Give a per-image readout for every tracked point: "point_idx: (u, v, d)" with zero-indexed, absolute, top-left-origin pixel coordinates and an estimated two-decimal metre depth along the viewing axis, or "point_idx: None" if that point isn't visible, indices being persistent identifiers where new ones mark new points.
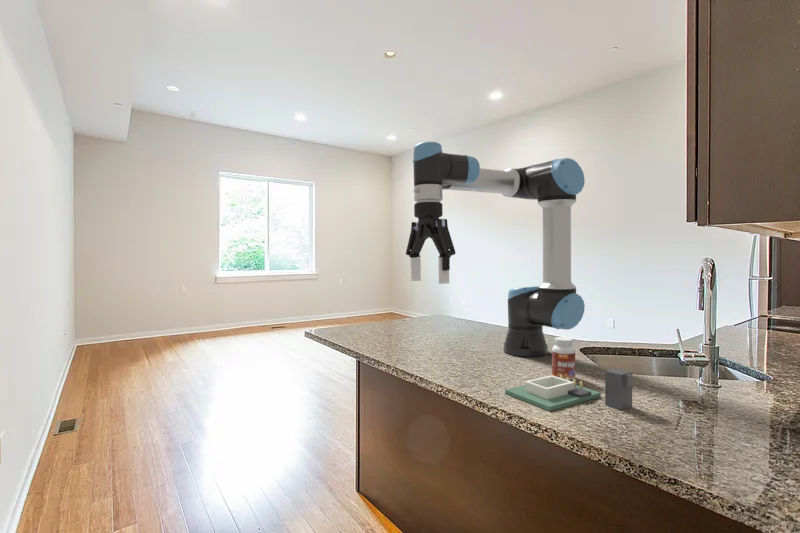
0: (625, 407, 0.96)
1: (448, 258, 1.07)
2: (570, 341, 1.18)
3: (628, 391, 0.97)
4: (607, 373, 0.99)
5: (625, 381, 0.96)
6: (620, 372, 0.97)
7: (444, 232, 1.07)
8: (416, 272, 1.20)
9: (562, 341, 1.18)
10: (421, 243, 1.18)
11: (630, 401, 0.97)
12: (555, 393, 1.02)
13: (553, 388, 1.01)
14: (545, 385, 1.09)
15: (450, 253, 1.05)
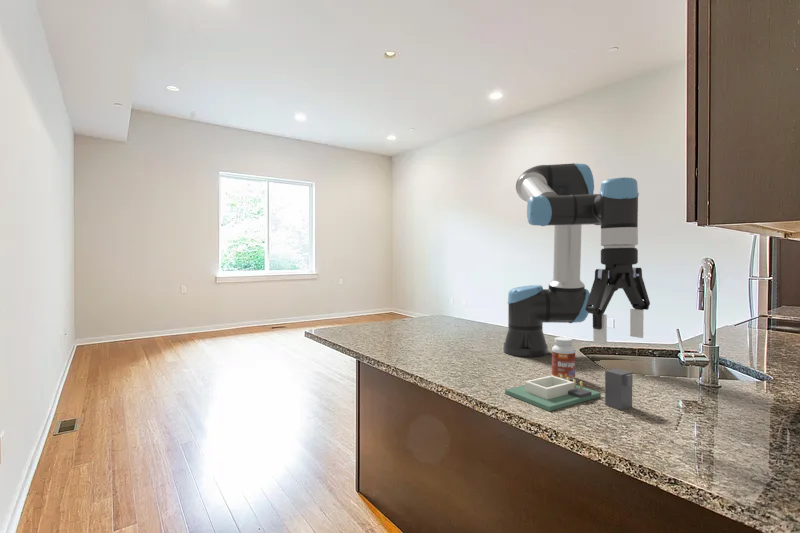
0: (625, 407, 0.96)
1: (596, 315, 0.93)
2: (570, 341, 1.18)
3: (628, 391, 0.97)
4: (607, 373, 0.99)
5: (625, 381, 0.96)
6: (620, 372, 0.97)
7: (595, 285, 0.94)
8: (635, 327, 1.01)
9: (562, 341, 1.18)
10: (631, 293, 0.99)
11: (630, 401, 0.97)
12: (555, 393, 1.02)
13: (553, 388, 1.01)
14: (545, 385, 1.09)
15: (589, 310, 0.93)
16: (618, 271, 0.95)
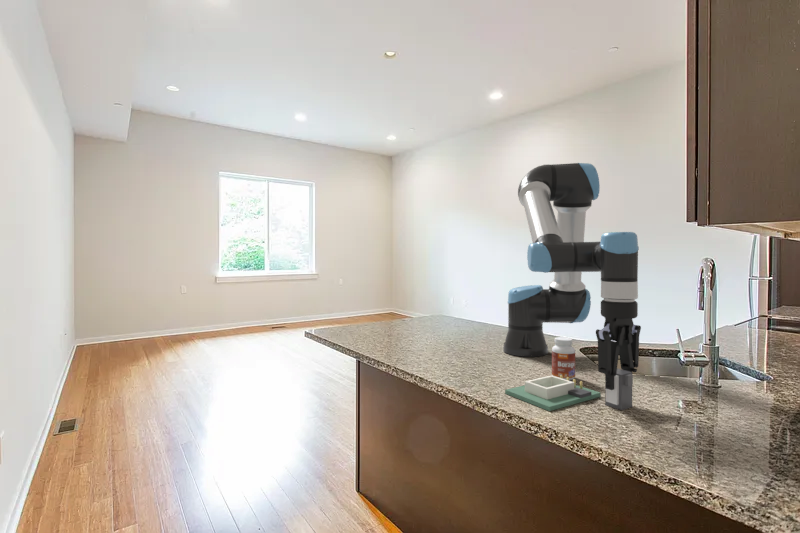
0: (625, 407, 0.96)
1: (609, 376, 0.96)
2: (570, 341, 1.18)
3: (628, 391, 0.97)
4: None
5: (625, 381, 0.96)
6: (620, 372, 0.97)
7: (600, 347, 0.95)
8: None
9: (562, 341, 1.18)
10: (624, 349, 0.99)
11: (630, 401, 0.97)
12: (555, 393, 1.02)
13: (553, 388, 1.01)
14: (545, 385, 1.09)
15: (602, 371, 0.96)
16: (617, 322, 0.96)
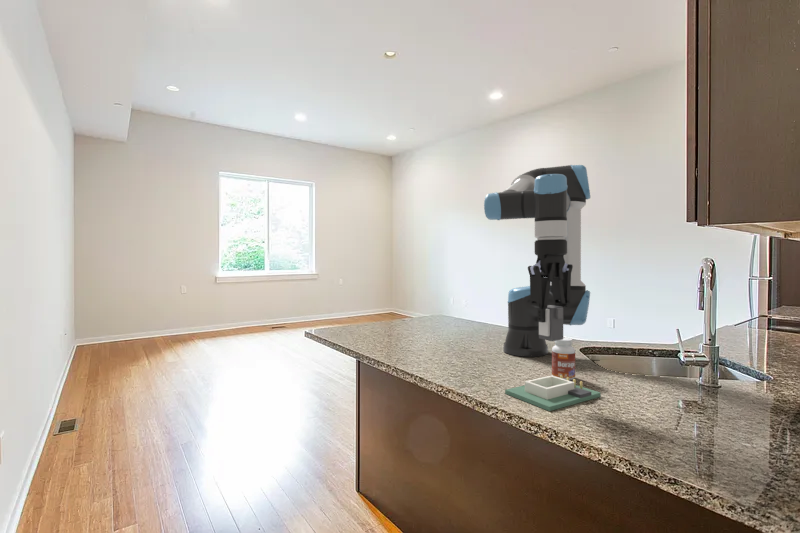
0: (555, 338, 1.03)
1: (540, 310, 1.03)
2: (570, 341, 1.18)
3: (559, 324, 1.04)
4: None
5: (556, 314, 1.03)
6: (552, 306, 1.04)
7: (532, 281, 1.02)
8: None
9: (562, 341, 1.18)
10: (556, 286, 1.05)
11: (561, 333, 1.04)
12: (555, 393, 1.02)
13: (553, 388, 1.01)
14: (545, 385, 1.09)
15: (534, 305, 1.02)
16: (548, 259, 1.02)
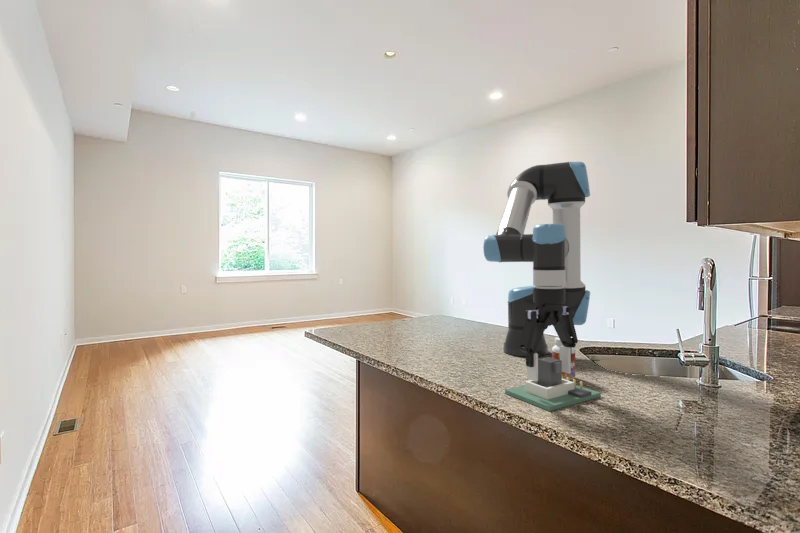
0: None
1: (528, 354, 1.02)
2: None
3: (557, 378, 1.04)
4: (539, 362, 1.06)
5: (554, 368, 1.03)
6: (550, 360, 1.05)
7: (526, 325, 1.02)
8: (564, 363, 1.08)
9: None
10: (560, 331, 1.07)
11: None
12: (555, 393, 1.02)
13: (553, 388, 1.01)
14: None
15: (521, 349, 1.01)
16: (547, 309, 1.03)
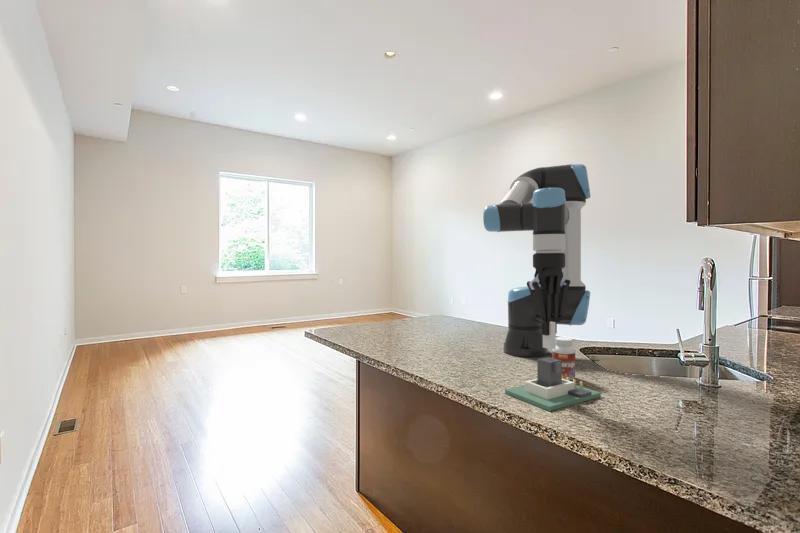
0: None
1: (544, 323, 1.04)
2: (570, 341, 1.18)
3: (557, 378, 1.04)
4: (539, 362, 1.06)
5: (554, 368, 1.03)
6: (550, 360, 1.05)
7: (533, 296, 1.03)
8: None
9: (562, 341, 1.18)
10: (552, 299, 1.05)
11: None
12: (555, 393, 1.02)
13: (553, 388, 1.01)
14: None
15: (537, 318, 1.03)
16: (545, 271, 1.03)
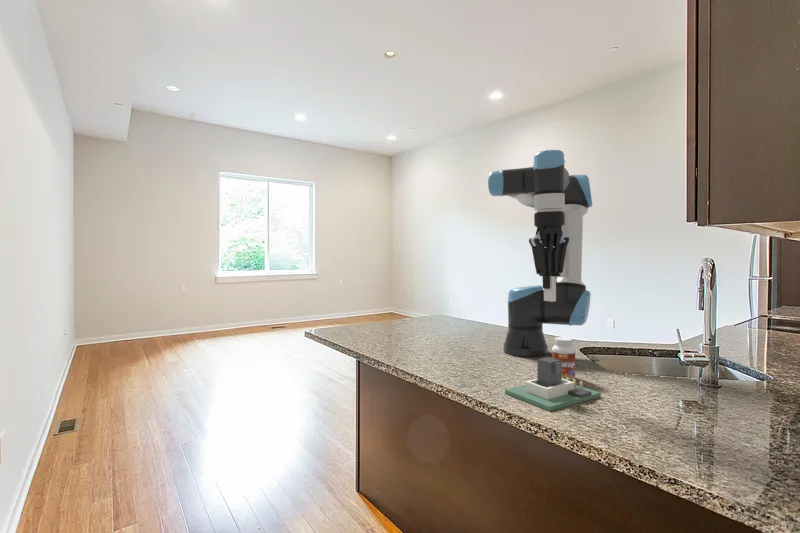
0: None
1: (545, 277, 1.12)
2: (570, 341, 1.18)
3: (557, 378, 1.04)
4: (539, 362, 1.06)
5: (554, 368, 1.03)
6: (550, 360, 1.05)
7: (534, 252, 1.10)
8: None
9: (562, 341, 1.18)
10: (552, 255, 1.13)
11: None
12: (555, 393, 1.02)
13: (553, 388, 1.01)
14: None
15: (539, 273, 1.11)
16: (546, 229, 1.10)
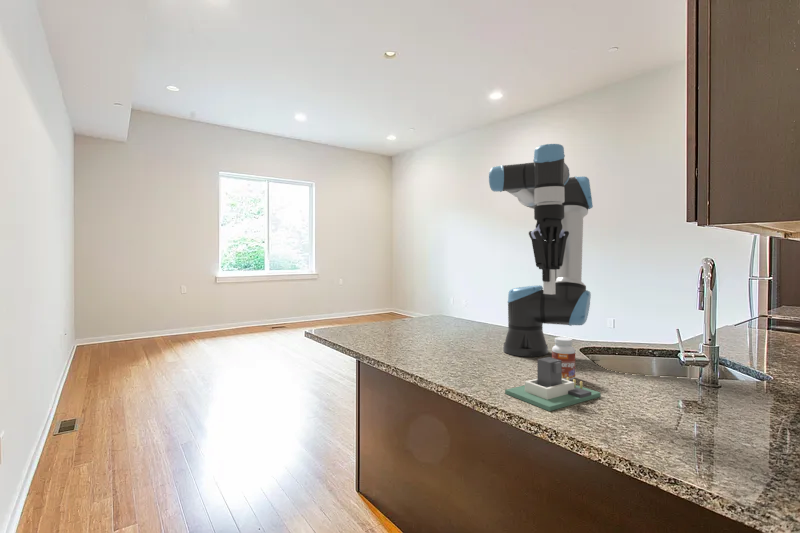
0: None
1: (545, 270, 1.12)
2: (570, 341, 1.18)
3: (557, 378, 1.04)
4: (539, 362, 1.06)
5: (554, 368, 1.03)
6: (550, 360, 1.05)
7: (534, 245, 1.11)
8: None
9: (562, 341, 1.18)
10: (552, 249, 1.13)
11: None
12: (555, 393, 1.02)
13: (553, 388, 1.01)
14: None
15: (539, 265, 1.12)
16: (546, 222, 1.11)
